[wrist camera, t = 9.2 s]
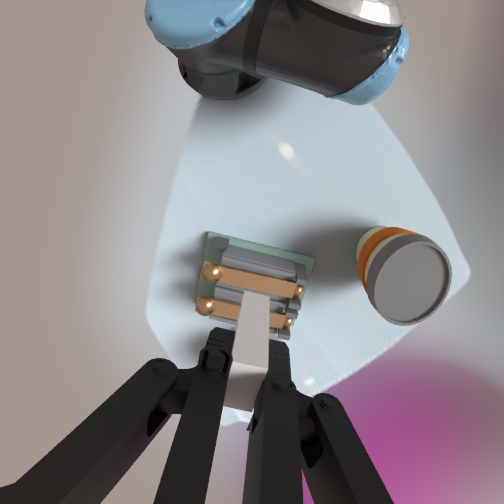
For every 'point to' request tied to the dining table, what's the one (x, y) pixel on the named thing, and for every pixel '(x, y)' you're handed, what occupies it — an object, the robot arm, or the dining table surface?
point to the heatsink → (258, 261)
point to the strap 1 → (251, 280)
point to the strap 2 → (236, 311)
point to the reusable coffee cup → (403, 274)
